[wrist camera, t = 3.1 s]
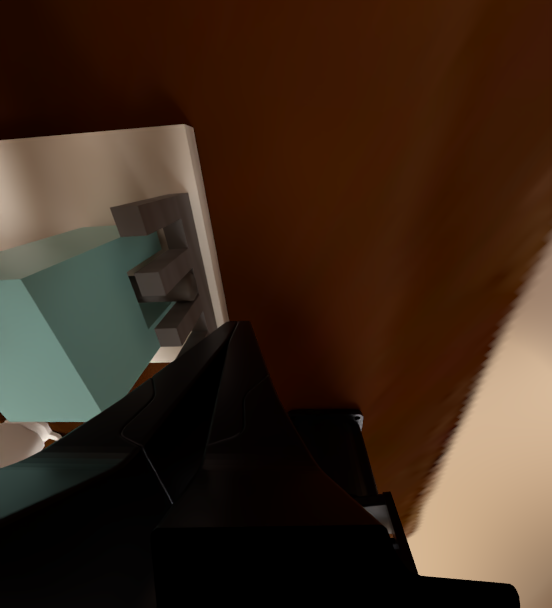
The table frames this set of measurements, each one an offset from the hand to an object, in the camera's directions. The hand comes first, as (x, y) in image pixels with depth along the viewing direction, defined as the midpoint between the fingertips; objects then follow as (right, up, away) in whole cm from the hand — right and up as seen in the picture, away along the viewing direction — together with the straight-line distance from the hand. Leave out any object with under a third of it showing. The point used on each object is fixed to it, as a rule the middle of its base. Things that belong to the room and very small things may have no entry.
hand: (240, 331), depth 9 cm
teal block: (-7, +3, +6) cm, 9 cm away
